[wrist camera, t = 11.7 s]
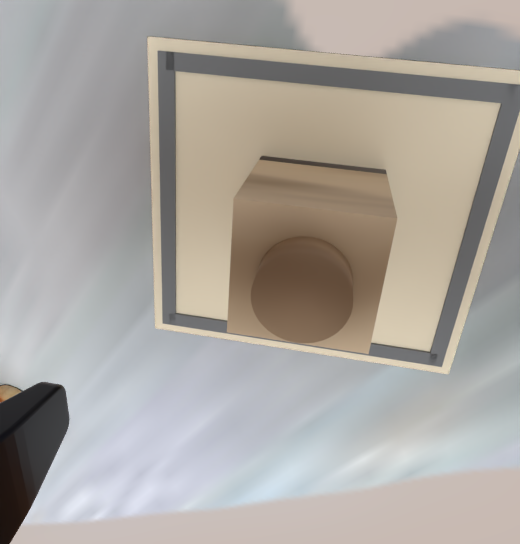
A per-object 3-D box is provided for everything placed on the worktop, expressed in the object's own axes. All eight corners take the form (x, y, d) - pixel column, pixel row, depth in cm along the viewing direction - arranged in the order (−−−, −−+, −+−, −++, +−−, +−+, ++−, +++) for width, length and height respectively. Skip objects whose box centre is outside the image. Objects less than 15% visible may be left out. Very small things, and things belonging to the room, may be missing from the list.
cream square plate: (540, 72, 16) (545, 73, 16) (447, 370, 21) (449, 376, 21) (150, 36, 17) (145, 36, 17) (157, 324, 23) (154, 329, 22)
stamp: (364, 280, 20) (370, 378, 14) (253, 264, 20) (217, 354, 15) (385, 169, 18) (401, 235, 12) (261, 155, 18) (223, 212, 13)
